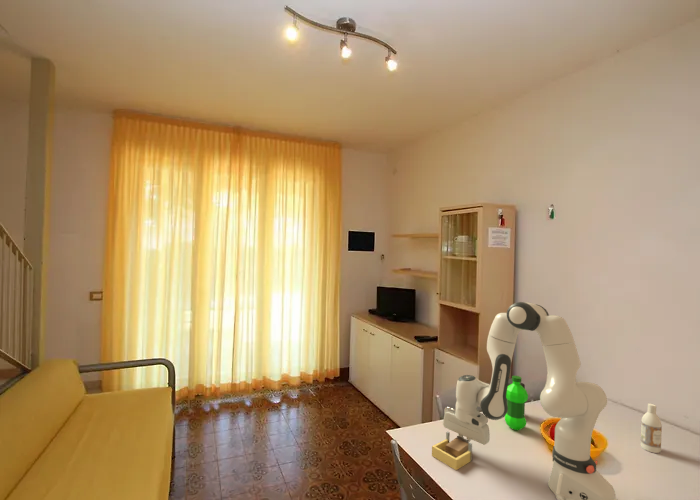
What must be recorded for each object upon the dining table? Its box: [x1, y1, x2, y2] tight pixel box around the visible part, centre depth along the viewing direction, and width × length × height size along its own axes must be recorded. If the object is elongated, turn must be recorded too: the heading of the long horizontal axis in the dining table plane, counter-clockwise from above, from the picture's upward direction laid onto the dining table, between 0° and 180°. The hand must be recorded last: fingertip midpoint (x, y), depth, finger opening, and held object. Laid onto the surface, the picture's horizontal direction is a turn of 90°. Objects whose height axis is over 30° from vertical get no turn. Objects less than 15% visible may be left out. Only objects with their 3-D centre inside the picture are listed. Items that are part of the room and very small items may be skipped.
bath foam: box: [640, 402, 663, 454], centre depth 158 cm, size 7×7×20 cm
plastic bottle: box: [504, 375, 529, 431], centre depth 174 cm, size 10×10×25 cm
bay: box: [431, 431, 473, 471], centre depth 147 cm, size 12×11×7 cm
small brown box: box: [444, 435, 470, 458], centre depth 150 cm, size 6×9×5 cm, turn 134°
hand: (464, 445), depth 153 cm, fingers closed
